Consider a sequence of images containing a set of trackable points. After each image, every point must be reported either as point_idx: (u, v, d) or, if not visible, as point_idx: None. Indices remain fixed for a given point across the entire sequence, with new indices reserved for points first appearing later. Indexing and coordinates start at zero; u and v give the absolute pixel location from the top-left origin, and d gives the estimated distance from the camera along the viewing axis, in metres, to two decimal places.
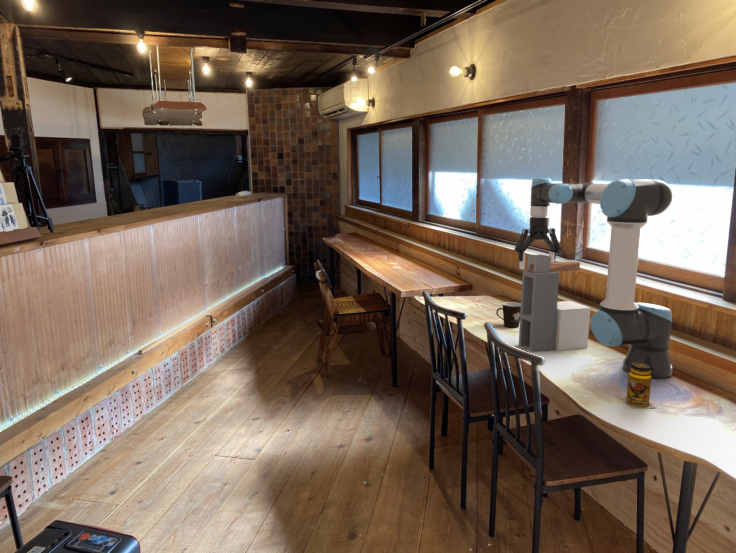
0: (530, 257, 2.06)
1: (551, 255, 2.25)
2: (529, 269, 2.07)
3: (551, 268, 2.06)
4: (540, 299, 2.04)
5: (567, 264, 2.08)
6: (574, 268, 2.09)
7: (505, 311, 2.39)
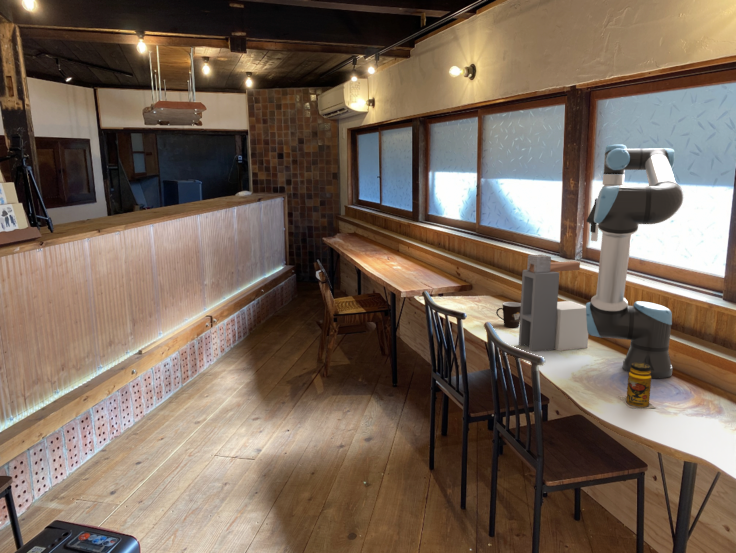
0: (530, 257, 2.06)
1: None
2: (529, 269, 2.07)
3: (551, 268, 2.06)
4: (540, 299, 2.04)
5: (567, 264, 2.08)
6: (574, 268, 2.09)
7: (505, 311, 2.39)
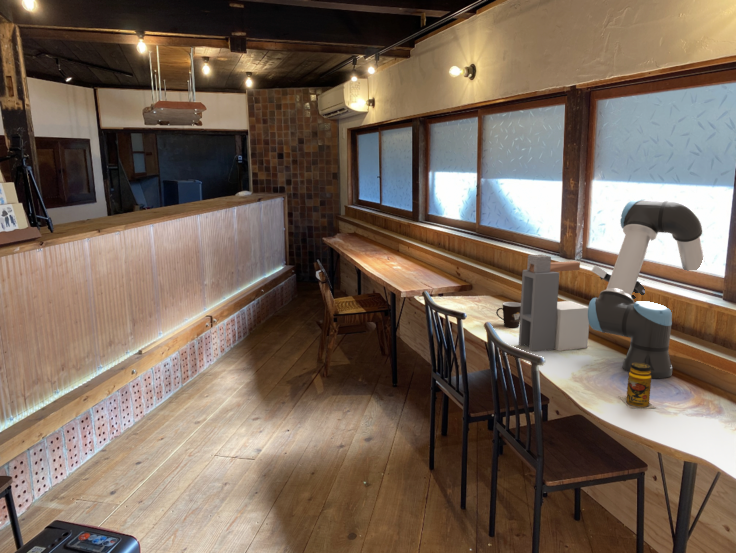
0: (530, 257, 2.06)
1: None
2: (529, 269, 2.07)
3: (551, 268, 2.06)
4: (540, 299, 2.04)
5: (567, 264, 2.08)
6: (574, 268, 2.09)
7: (505, 311, 2.39)
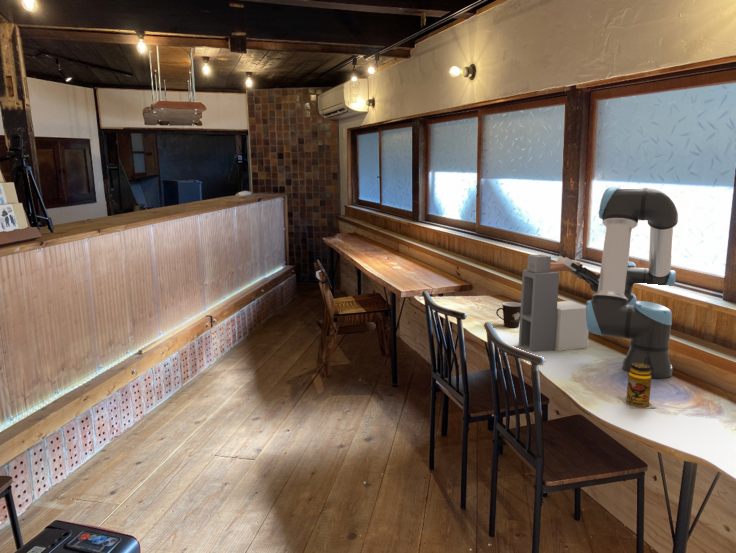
0: (530, 257, 2.06)
1: None
2: (529, 269, 2.07)
3: (551, 268, 2.06)
4: (540, 299, 2.04)
5: None
6: None
7: (505, 311, 2.39)
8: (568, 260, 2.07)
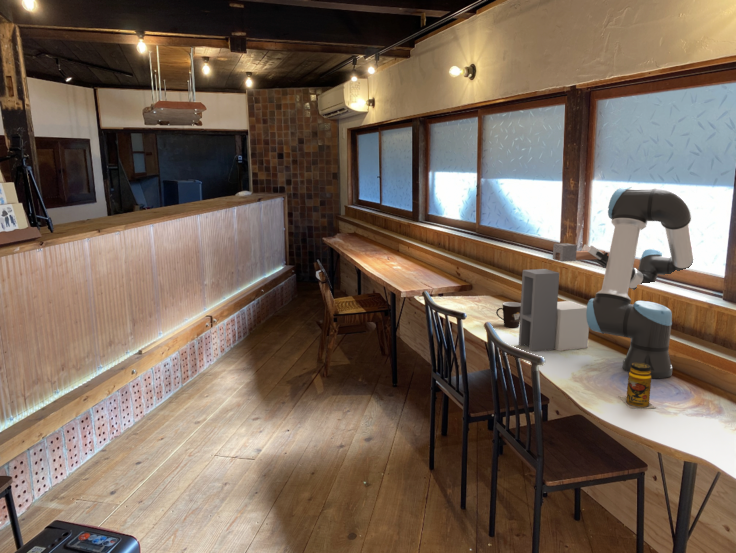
0: (556, 246, 2.08)
1: None
2: (555, 258, 2.09)
3: (577, 256, 2.08)
4: (540, 299, 2.04)
5: None
6: None
7: (505, 311, 2.39)
8: (593, 249, 2.09)
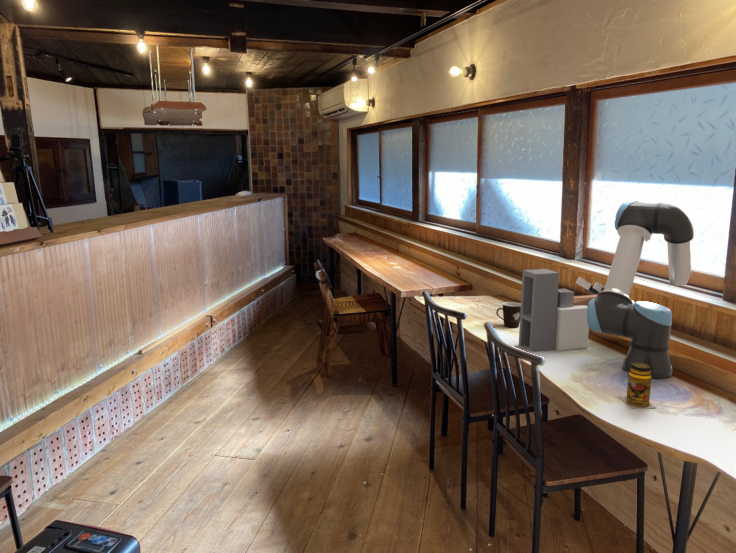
0: None
1: None
2: None
3: (574, 302, 2.12)
4: (540, 299, 2.04)
5: (589, 298, 2.13)
6: None
7: (505, 311, 2.39)
8: (598, 285, 2.09)
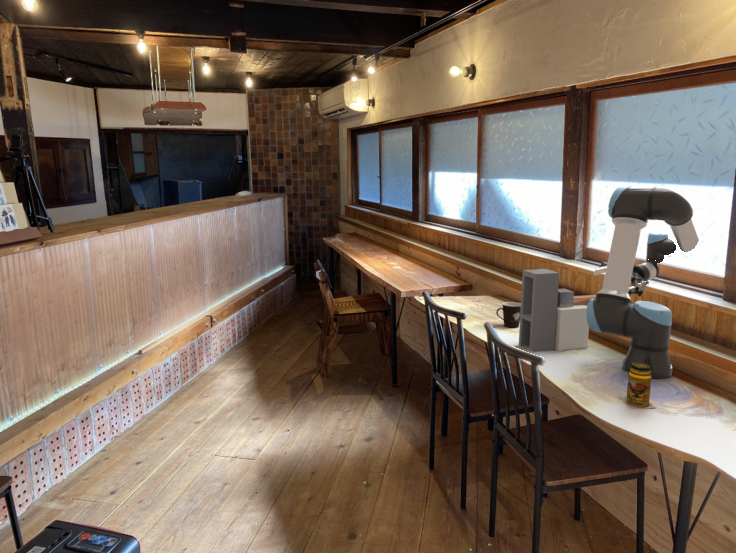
0: None
1: None
2: None
3: (574, 302, 2.12)
4: (540, 299, 2.04)
5: (589, 298, 2.13)
6: None
7: (505, 311, 2.39)
8: None
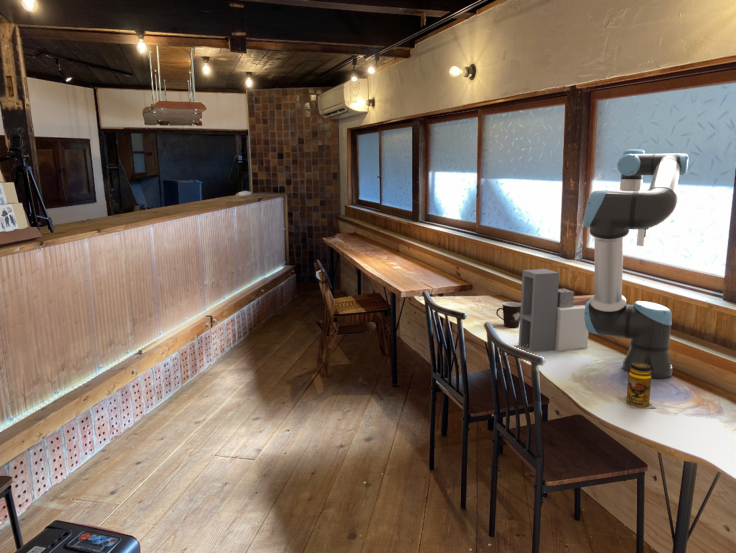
0: None
1: (641, 232, 2.12)
2: None
3: (574, 302, 2.12)
4: (540, 299, 2.04)
5: (589, 298, 2.13)
6: None
7: (505, 311, 2.39)
8: None
